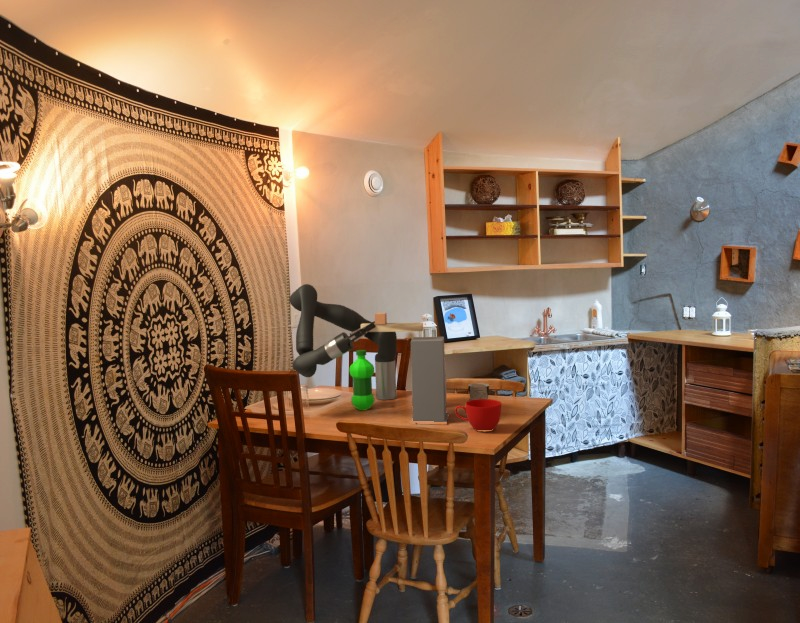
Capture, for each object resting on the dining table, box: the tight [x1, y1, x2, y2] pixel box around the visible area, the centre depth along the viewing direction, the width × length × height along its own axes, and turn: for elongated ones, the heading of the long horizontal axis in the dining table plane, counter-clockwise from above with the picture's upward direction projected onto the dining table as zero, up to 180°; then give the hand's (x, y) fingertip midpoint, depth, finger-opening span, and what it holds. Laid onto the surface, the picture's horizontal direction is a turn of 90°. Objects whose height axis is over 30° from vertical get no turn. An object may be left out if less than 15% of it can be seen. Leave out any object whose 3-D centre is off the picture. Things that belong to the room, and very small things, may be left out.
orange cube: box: [374, 312, 388, 324], centre depth 245 cm, size 4×4×4 cm
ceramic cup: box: [454, 398, 502, 430], centre depth 229 cm, size 13×17×10 cm
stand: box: [410, 336, 450, 423], centre depth 244 cm, size 14×14×32 cm
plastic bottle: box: [349, 349, 375, 411], centre depth 266 cm, size 10×10×25 cm
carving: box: [468, 384, 489, 401], centre depth 251 cm, size 6×8×12 cm
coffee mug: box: [467, 382, 490, 396], centre depth 262 cm, size 12×9×10 cm
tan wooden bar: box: [361, 322, 424, 333], centre depth 244 cm, size 4×24×3 cm, turn 83°
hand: (375, 323), depth 245 cm, fingers closed on tan wooden bar, 3 cm apart
